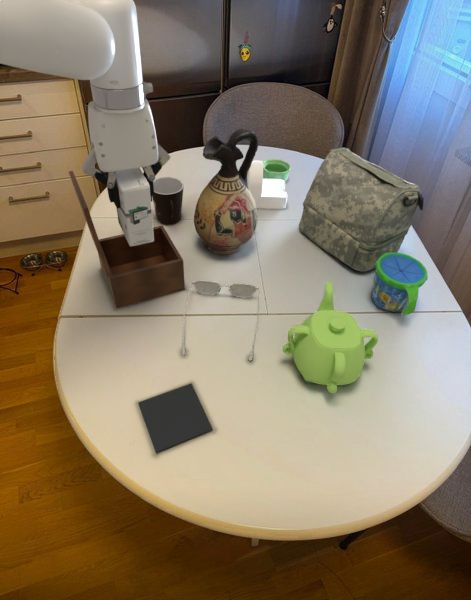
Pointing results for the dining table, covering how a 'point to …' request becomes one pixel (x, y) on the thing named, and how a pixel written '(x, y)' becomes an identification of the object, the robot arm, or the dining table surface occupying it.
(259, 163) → the bracket
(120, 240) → the chest
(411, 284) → the sippy cup
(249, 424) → the dining table surface
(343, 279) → the dining table surface
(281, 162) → the ramekin
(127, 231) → the ink box
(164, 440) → the mat
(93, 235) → the lid
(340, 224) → the lunch bag
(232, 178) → the ceramic jug
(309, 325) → the teapot
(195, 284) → the eyeglasses
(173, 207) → the coffee mug
